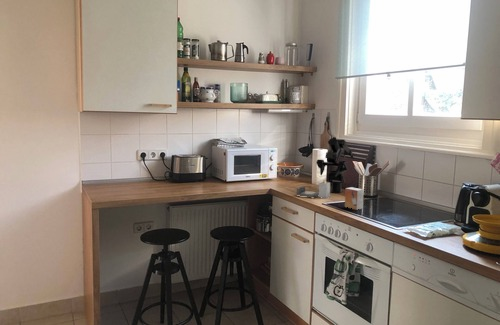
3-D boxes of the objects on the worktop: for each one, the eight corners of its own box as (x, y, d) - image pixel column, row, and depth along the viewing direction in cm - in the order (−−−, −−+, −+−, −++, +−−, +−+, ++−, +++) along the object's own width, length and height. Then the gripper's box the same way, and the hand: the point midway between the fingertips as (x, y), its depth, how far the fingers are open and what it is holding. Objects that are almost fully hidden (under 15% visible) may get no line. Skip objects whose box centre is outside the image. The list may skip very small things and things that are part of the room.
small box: (344, 207, 223) (344, 188, 222) (350, 205, 227) (351, 186, 225) (356, 210, 217) (357, 190, 216) (363, 208, 221) (363, 189, 219)
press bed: (303, 193, 259) (303, 185, 259) (319, 195, 254) (319, 187, 253) (296, 196, 251) (296, 188, 250) (313, 198, 245) (313, 190, 245)
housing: (322, 196, 251) (322, 179, 250) (329, 197, 249) (330, 180, 247) (318, 197, 247) (318, 181, 246) (326, 198, 245) (326, 181, 243)
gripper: (317, 146, 258) (309, 166, 250) (346, 148, 247) (339, 168, 240) (322, 157, 265) (315, 177, 257) (350, 159, 255) (343, 180, 247)
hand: (327, 175), depth 250 cm, fingers open, 9 cm apart
